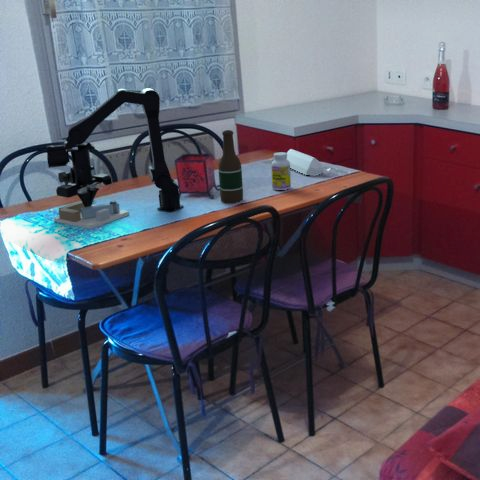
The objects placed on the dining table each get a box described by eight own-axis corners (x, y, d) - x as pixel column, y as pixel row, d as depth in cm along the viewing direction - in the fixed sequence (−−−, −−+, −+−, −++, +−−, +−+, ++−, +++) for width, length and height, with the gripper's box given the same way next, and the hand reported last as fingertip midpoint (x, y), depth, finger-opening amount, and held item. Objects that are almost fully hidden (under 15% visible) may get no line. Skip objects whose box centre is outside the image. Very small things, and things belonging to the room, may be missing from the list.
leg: (117, 210, 227) (116, 199, 226) (120, 212, 225) (118, 201, 223) (81, 216, 222) (80, 206, 221) (83, 218, 220) (82, 208, 219)
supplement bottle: (269, 190, 244) (268, 155, 240) (275, 186, 250) (274, 151, 246) (287, 191, 242) (286, 155, 238) (293, 186, 248) (292, 151, 244)
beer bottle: (216, 201, 235) (211, 131, 227) (231, 196, 241) (227, 128, 233) (232, 205, 230) (227, 133, 222) (248, 199, 235) (244, 129, 228)
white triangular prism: (276, 157, 278) (303, 168, 257) (289, 146, 279) (318, 157, 258) (285, 171, 282) (312, 184, 261) (298, 161, 283) (327, 172, 262)
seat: (129, 214, 226) (128, 202, 225) (90, 229, 214) (88, 216, 212) (93, 207, 236) (92, 196, 235) (54, 221, 224) (52, 209, 222)
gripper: (87, 155, 230) (93, 199, 235) (41, 168, 216) (49, 215, 222) (110, 158, 223) (116, 204, 229) (64, 172, 210) (71, 220, 215)
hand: (88, 210), depth 224 cm, fingers closed
